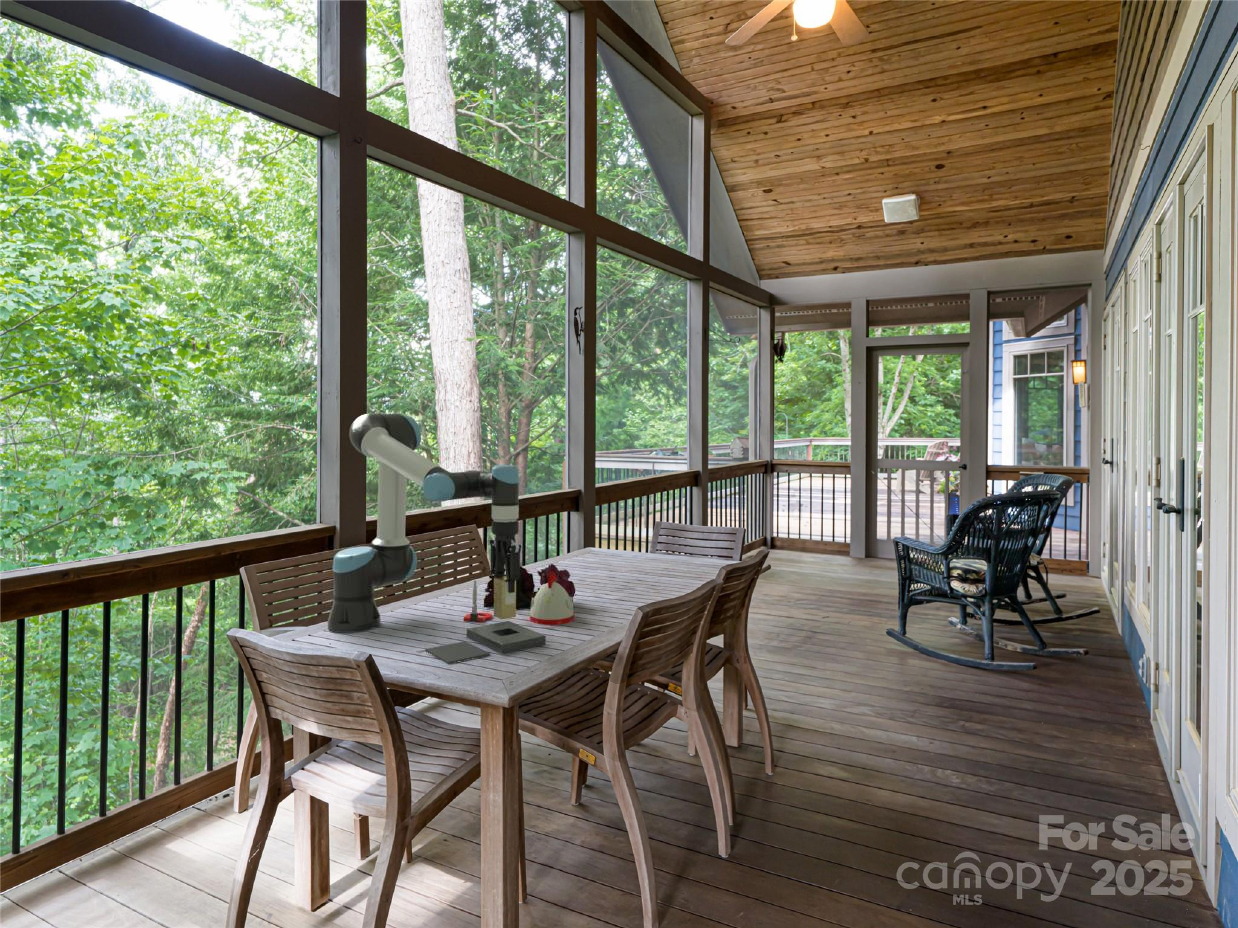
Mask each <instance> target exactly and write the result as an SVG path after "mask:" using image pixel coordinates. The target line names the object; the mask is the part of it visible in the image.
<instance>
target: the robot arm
mask: <svg viewBox="0 0 1238 928" xmlns="http://www.w3.org/2000/svg"><path fill="white" fill-rule="evenodd" d="M349 439H350V442H351V444H352V447H354V448H355V449H356V451H357V452H359V453H360V454H363V455H364V456H366V457H367V458H375V459H376V460H377V461H378V480H377V482H378V483H377V484H378V485H377V486H378V489H377V517H376V518H377V519H376V521H377V522H376V525H377V527H376V528H377V529H376V537H375V538H374V539H373V540H372V541H371V547H370V546H362V545H361V546H356V547H349V548H345V549H341V550H340V551H338V552H337V553H335V554H334V557H333V561H332V575H333V576H332V578H333V583H332V584H333V585H332V586H333V604H332V606H331V609H330V613H329V616H328V619H327V629H328V630H329V631H331V632H336V633H356V632H358V633H359V632H363V631H369V630H372V629H373V630H374V629H375V628H378V627H379V626H380V625H382V624H381V622H382V621H381V615H380V611H379V609H378V607H377V603H376V600H375V588H379V587H384V586H389V585H393V584H394V585H395V584H399V583H401V582H404V581H407V580H409V579H410V578H411V577H412V576H414V573H415V572H416V569H417V566H418V557H417V554H416V553H415V552H416V551H415V549H414V548H413V547H412V546H411V545H410V544H411V541H410V540H409V539H408V538H407V537H406V518H407V517H406V516H407V512H406V511H407V488H408V486H407V485H408V480H410V481H411V482H413V483H415V484H416V485H417V486H420V487H421V488H422V491H423V494H425V496H426V498H427V499H428V500H429V501H432V502H446V501H453V500H464V499H472V498H489V499H491V519H492V521H491V534H492V535H495V537H494V539H490V540H489V546H490V575H494V577H495V578H496V577H502V576H505V575H506V578H507V580H504V581H505V604H506V605H507V604H513V603H515V581H516V580H518V579H520V566H521V551H522V545H521V544H517V541H516V537H515V536H516V535H518V534H519V532H520V531H519V530H520V529H519V521H518V519H519V518H520V517H519V515H520V514H519V510H520V508H519V505H520V504H519V495H520V493H519V492H520V476H519V475H520V474H519V468H518V467H517V465H513V464H512V465H511V464H510V465H509V464H508V465H507V464H499V465H498V464H495V465H493V466H492V467H491V471H484V470H483V471H482V470H477V469H472V470H471V469H470V470H464V471H458V472H451V471H449V470H446V469H445V468H443V467H441V466H440V465H439V464H437V463H435V462H433V461H432V460H430V459H428V458H426V457H425V456H423V455H422V454H420V453H419V452H417V451H415V450H417V449H418V447H419V445H421V442H422V432H421V428H420V424H418V422H417V421H416V420H415V418H414V417H412V416H410V415H409V414H400V413H365V414H362V415H360V416H358V417H357V418H356V419H355V420H353V422H352V423H351V425H350V428H349ZM504 567H505V574H504ZM494 569H495V570H494Z"/></svg>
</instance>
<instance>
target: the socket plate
mask: <svg viewBox="0 0 1238 928" xmlns="http://www.w3.org/2000/svg"><path fill="white" fill-rule="evenodd" d="M466 638H467V639H470V640H471V639H472V640H471V641H473V642H475V641H476V643H477V642H478V644H480V645H482V646H485V647H486V648H488V649H490V650H493V651H494V652H497V653H498V654H501V655H503V654H509V653H513V652H517V651H523V650H527V649H532V648H536V647H540V646H545V645H547V641H546V639H547V636H546V635H545V634H543V633H540V632H538V631H535V630H533V629H530V628H528V627H526V626H522V625H521V624H517V623H515V622H513V621H510V620H505V621H500V622H495V623H490V624H486V625H479V626H474V627H473V626H472V627H469V628H468V627H467V628H466Z"/></svg>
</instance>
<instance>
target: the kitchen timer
mask: <svg viewBox="0 0 1238 928" xmlns="http://www.w3.org/2000/svg"><path fill="white" fill-rule="evenodd" d="M539 588H540V589H539V591H538V590H537V591H538V592H537V594H536V596H535V598H532V602H531V608H530V612H529V621H530V622H532V623H533V624H537V625H542V626H544V625H545V626H547V625H549V626H552V625H553V626H556V625H563V624H568V623H571V622H573V621H574V620H573V619H574V618H575V617H574V616H575V615H574V614H575V612H574V603H572V597H569V595H568V593H567V592H566V590H565V589H564V588H563V587H562V586H561V585H559V584H558V583H556V577H555V574H554V572H551V573H550V575H549V579H548V583H547V584H543V585H541V587H539ZM570 621H571V622H570Z"/></svg>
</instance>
